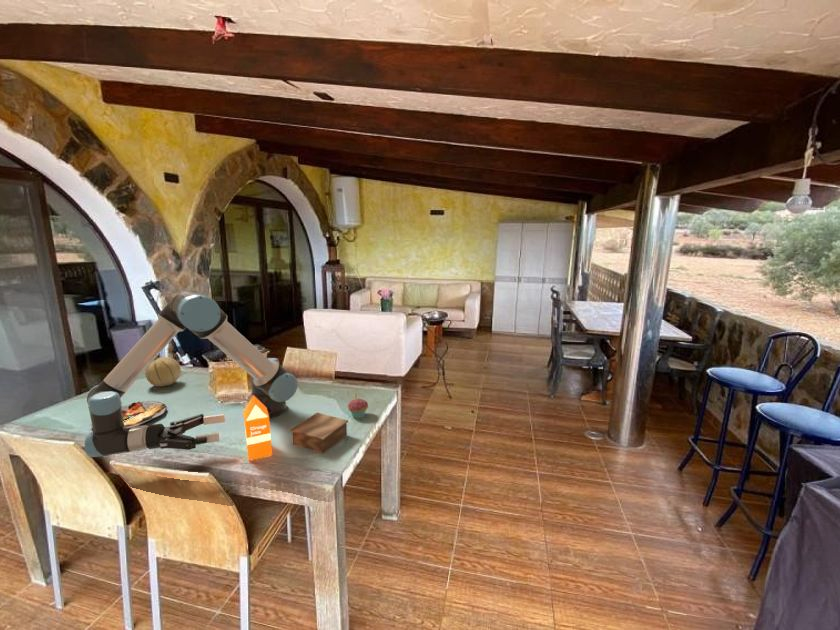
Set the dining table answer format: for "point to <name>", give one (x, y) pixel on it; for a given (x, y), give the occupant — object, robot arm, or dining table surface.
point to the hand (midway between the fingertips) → (222, 426)
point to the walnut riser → (319, 432)
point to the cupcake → (357, 407)
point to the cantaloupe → (163, 371)
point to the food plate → (141, 412)
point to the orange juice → (257, 429)
